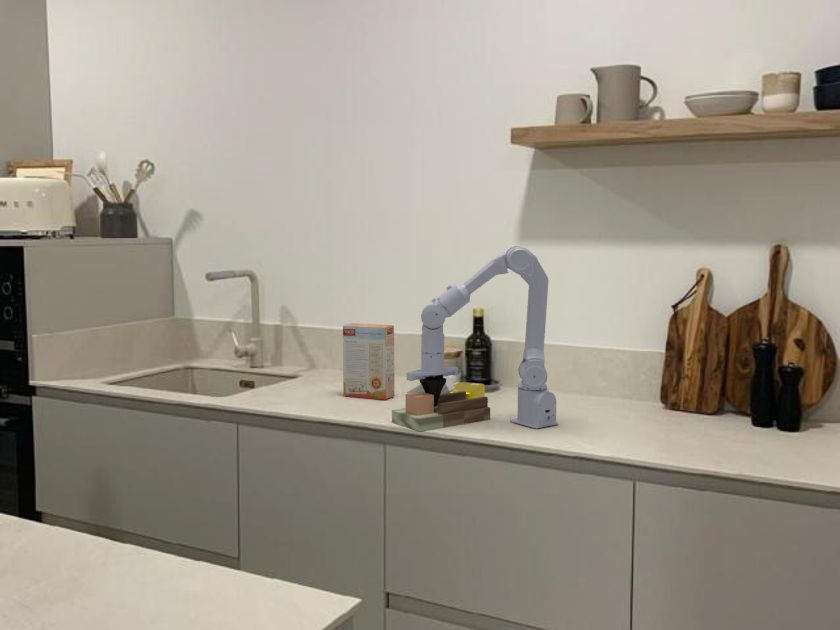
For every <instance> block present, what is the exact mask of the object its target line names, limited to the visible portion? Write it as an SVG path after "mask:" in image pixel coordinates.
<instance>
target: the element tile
mask: <svg viewBox="0 0 840 630" xmlns="http://www.w3.org/2000/svg"><path fill="white" fill-rule="evenodd" d="M451 381H452V380H451ZM452 383H453V385H454V387H455V389H454V390H452V391H451V392H449V393H453V392H460V391H465V392H466V399H472V398H479V397H486V396H485V393H486V386H485V384H484V383H479V382H477V383H476V382H465V381H463V382H461V381H452Z"/></svg>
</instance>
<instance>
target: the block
mask: <svg viewBox="0 0 840 630" xmlns="http://www.w3.org/2000/svg"><path fill="white" fill-rule="evenodd" d="M405 408H406V412H408V413H411V414H414V415H417V416H418V415H424V414H430V413H434V395H432V394H428V393H425V392H416V393H409V394H407V393H405Z"/></svg>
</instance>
